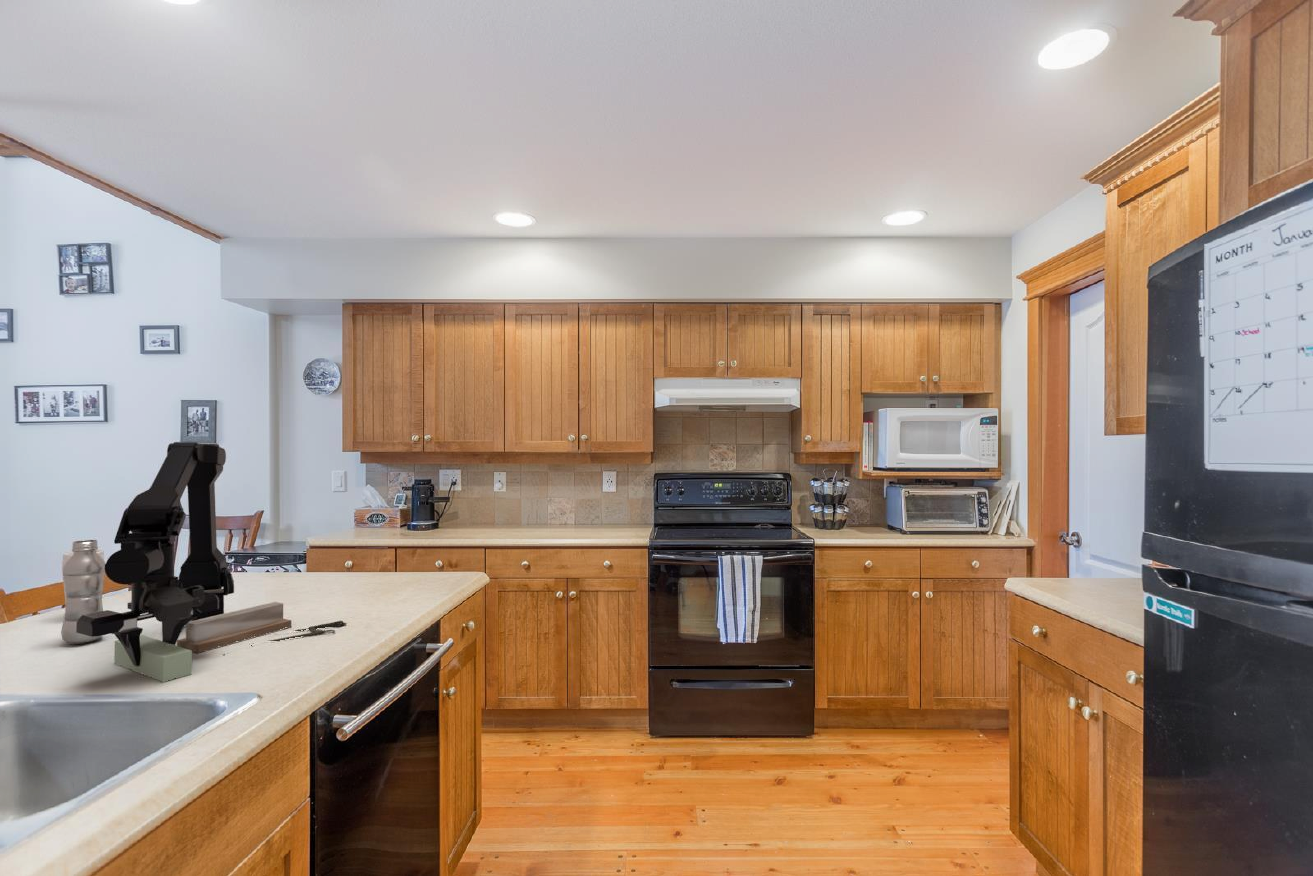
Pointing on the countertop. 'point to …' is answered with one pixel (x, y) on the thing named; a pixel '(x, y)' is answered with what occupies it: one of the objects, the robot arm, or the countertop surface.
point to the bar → (157, 659)
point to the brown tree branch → (314, 631)
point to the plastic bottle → (82, 588)
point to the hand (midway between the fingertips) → (152, 661)
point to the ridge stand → (233, 627)
